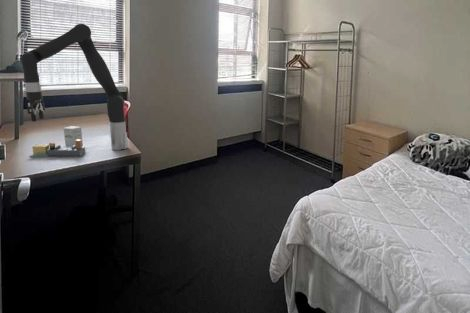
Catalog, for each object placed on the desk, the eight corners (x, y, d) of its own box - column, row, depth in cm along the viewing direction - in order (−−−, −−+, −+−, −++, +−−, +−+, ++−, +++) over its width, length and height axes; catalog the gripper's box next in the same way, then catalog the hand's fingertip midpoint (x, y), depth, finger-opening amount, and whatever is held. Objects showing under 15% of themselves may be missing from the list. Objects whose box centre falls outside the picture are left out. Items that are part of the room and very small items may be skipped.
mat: (53, 152, 197) (53, 151, 197) (46, 157, 189) (46, 156, 189) (37, 152, 197) (37, 151, 197) (29, 157, 188) (29, 156, 188)
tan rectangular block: (49, 152, 195) (48, 144, 193) (46, 155, 191) (45, 146, 189) (37, 152, 194) (36, 144, 193) (33, 155, 190) (32, 146, 189)
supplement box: (65, 147, 209) (62, 127, 206) (74, 144, 216) (72, 125, 213) (74, 148, 207) (72, 128, 204) (83, 146, 214) (81, 126, 210)
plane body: (85, 153, 198) (83, 138, 196) (80, 156, 190) (78, 141, 188) (54, 153, 197) (52, 138, 194) (47, 156, 189) (45, 141, 187)
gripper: (34, 92, 176) (38, 122, 181) (46, 89, 190) (50, 117, 195) (19, 91, 176) (24, 122, 180) (33, 89, 189) (37, 117, 194)
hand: (38, 120), depth 187 cm, fingers open, 8 cm apart
